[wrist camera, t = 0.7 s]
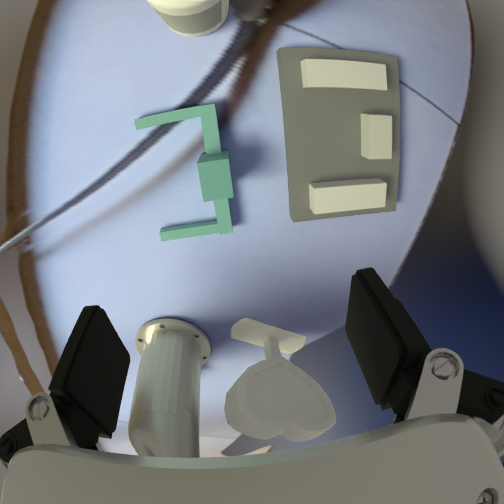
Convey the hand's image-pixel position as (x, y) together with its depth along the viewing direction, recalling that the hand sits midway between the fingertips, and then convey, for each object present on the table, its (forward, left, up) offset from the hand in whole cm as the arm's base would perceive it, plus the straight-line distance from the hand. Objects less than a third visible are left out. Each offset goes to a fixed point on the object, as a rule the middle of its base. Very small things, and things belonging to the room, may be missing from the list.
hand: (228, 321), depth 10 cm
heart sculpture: (-28, -3, -25) cm, 38 cm away
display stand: (+3, -14, -25) cm, 28 cm away
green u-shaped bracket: (0, +4, -25) cm, 25 cm away
